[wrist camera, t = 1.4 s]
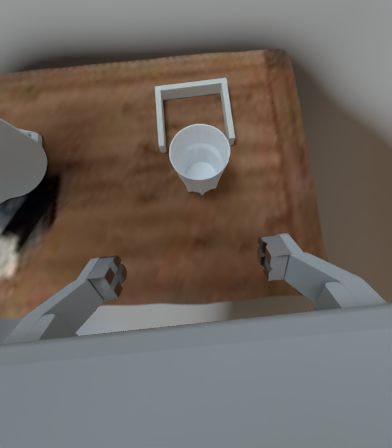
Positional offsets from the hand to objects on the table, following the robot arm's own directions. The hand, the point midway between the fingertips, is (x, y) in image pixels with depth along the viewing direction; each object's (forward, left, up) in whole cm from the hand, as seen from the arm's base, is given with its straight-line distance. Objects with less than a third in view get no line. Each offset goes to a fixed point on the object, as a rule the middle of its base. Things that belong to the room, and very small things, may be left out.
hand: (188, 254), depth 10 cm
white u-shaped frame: (-14, +27, -25) cm, 40 cm away
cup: (-7, +15, -26) cm, 30 cm away
